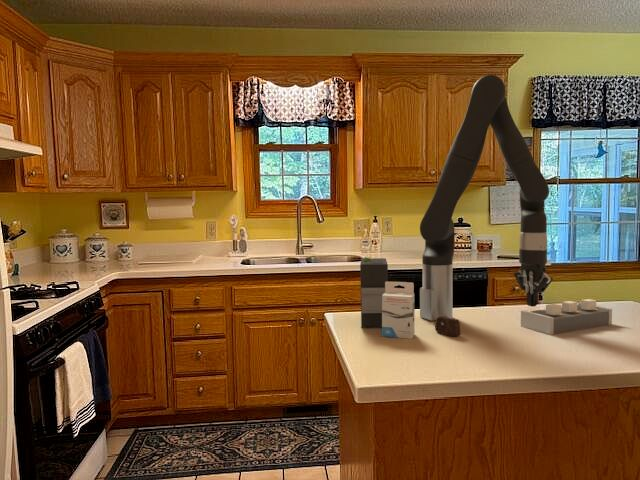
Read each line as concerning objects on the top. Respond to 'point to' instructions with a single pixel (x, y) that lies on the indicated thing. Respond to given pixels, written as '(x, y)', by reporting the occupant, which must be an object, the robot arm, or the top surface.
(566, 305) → the switch
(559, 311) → the switch
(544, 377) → the top surface
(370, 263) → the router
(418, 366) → the top surface
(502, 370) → the top surface
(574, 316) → the power strip
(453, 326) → the stone
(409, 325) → the ink box
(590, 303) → the switch
